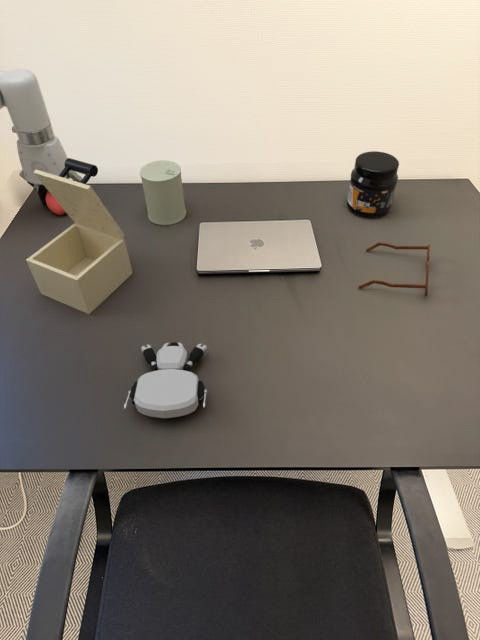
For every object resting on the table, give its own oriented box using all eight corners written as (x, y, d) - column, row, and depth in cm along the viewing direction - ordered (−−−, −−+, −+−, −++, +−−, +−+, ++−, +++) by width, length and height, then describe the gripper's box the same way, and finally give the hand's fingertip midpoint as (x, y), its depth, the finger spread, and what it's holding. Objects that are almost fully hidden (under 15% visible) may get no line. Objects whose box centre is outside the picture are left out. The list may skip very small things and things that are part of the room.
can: (175, 228, 109) (168, 182, 100) (140, 220, 111) (131, 174, 102) (192, 208, 114) (187, 162, 106) (159, 200, 117) (152, 155, 108)
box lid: (87, 189, 78) (106, 162, 80) (33, 172, 83) (52, 147, 84) (123, 238, 91) (138, 215, 93) (73, 221, 95) (89, 199, 97)
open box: (89, 314, 90) (76, 280, 83) (41, 294, 94) (25, 259, 88) (132, 273, 98) (124, 239, 92) (86, 256, 102) (75, 222, 96)
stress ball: (43, 220, 114) (43, 206, 109) (48, 190, 118) (48, 174, 112) (66, 224, 116) (66, 210, 111) (69, 194, 119) (70, 179, 114)
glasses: (426, 301, 90) (433, 282, 87) (357, 289, 93) (362, 270, 90) (428, 260, 99) (434, 241, 95) (365, 249, 102) (369, 230, 98)
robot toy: (142, 355, 83) (127, 426, 72) (137, 337, 80) (121, 408, 69) (210, 354, 83) (206, 425, 72) (209, 336, 80) (204, 406, 69)
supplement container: (337, 209, 113) (344, 162, 104) (360, 191, 118) (368, 145, 110) (376, 225, 108) (387, 177, 99) (398, 205, 113) (410, 159, 105)
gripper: (-10, 138, 101) (20, 209, 114) (63, 144, 98) (85, 217, 111) (9, 123, 106) (36, 193, 119) (79, 129, 103) (99, 200, 116)
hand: (60, 204), depth 115 cm, fingers closed on stress ball, 6 cm apart
